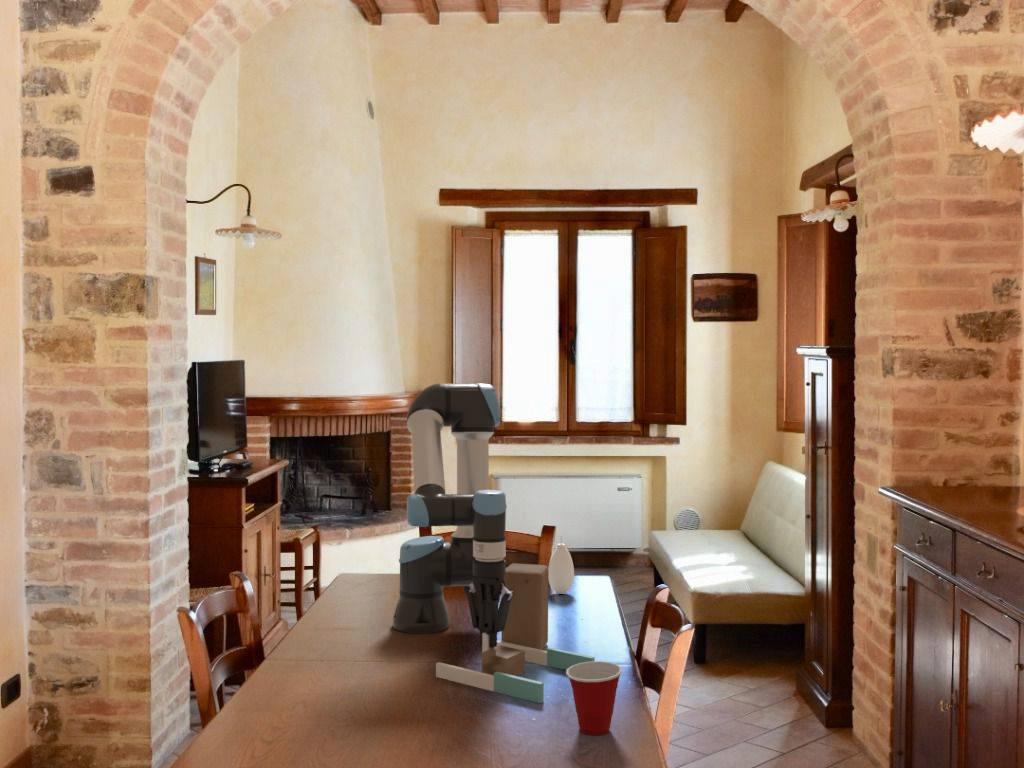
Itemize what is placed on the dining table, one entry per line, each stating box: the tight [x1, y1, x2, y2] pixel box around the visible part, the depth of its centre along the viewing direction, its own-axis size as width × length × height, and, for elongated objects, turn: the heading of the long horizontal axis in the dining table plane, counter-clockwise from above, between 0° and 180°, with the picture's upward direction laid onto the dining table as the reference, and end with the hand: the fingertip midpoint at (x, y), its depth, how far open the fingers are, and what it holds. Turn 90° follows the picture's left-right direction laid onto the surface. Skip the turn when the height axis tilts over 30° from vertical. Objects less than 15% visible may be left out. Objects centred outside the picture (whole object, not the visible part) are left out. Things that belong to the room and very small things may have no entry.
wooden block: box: [500, 562, 549, 650], centre depth 237 cm, size 10×10×20 cm
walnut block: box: [481, 645, 526, 677], centre depth 218 cm, size 7×7×5 cm
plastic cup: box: [565, 660, 623, 736], centre depth 186 cm, size 11×11×12 cm
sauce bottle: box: [548, 535, 575, 595], centre depth 291 cm, size 8×8×18 cm
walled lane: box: [435, 639, 596, 704], centre depth 217 cm, size 28×22×4 cm
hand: (488, 660), depth 221 cm, fingers closed
